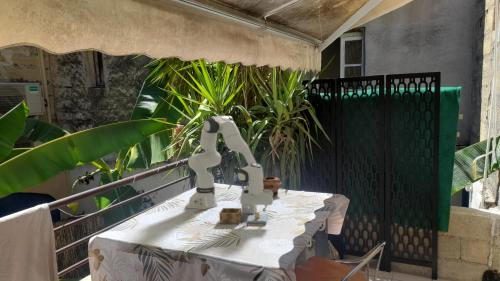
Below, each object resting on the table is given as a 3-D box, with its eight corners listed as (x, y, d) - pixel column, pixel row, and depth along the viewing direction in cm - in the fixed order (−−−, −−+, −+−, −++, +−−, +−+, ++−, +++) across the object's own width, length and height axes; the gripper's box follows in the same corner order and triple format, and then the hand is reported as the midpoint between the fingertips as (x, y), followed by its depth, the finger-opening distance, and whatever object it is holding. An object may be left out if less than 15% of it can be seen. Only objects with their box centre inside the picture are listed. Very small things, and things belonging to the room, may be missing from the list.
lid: (246, 224, 216) (246, 214, 215) (249, 218, 226) (248, 209, 225) (266, 224, 214) (265, 214, 214) (267, 218, 224) (267, 209, 223)
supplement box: (254, 214, 235) (253, 192, 233) (241, 213, 237) (240, 192, 235) (257, 209, 244) (256, 188, 242) (244, 209, 245) (243, 188, 243)
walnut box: (219, 224, 219) (219, 213, 218) (223, 218, 229) (223, 207, 228) (238, 224, 217) (238, 213, 216) (241, 218, 227) (241, 208, 226)
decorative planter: (257, 198, 270) (257, 180, 268) (256, 193, 282) (255, 176, 280) (283, 196, 271) (282, 179, 269) (280, 192, 283) (280, 175, 282)
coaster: (247, 224, 216) (247, 224, 216) (250, 218, 226) (250, 217, 226) (265, 225, 214) (265, 224, 214) (267, 218, 225) (267, 218, 225)
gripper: (273, 188, 219) (273, 209, 221) (241, 188, 222) (241, 209, 224) (272, 191, 213) (272, 213, 215) (239, 190, 216) (240, 212, 218)
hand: (256, 211), depth 220 cm, fingers open, 8 cm apart
